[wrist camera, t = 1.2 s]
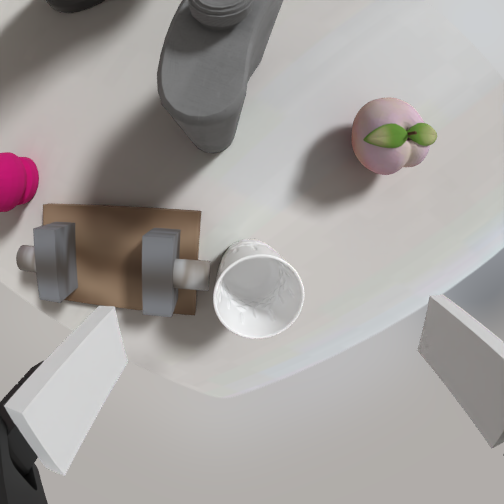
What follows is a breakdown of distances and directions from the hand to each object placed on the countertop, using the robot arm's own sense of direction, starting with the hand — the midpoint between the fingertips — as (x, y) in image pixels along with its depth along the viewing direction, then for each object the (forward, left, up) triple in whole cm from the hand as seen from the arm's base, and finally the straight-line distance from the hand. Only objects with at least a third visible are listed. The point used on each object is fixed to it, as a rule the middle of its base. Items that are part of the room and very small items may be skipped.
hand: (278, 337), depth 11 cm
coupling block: (+4, -15, -24) cm, 28 cm away
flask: (-16, -4, -24) cm, 29 cm away
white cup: (+4, +1, -24) cm, 24 cm away
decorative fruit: (-13, +14, -24) cm, 31 cm away
